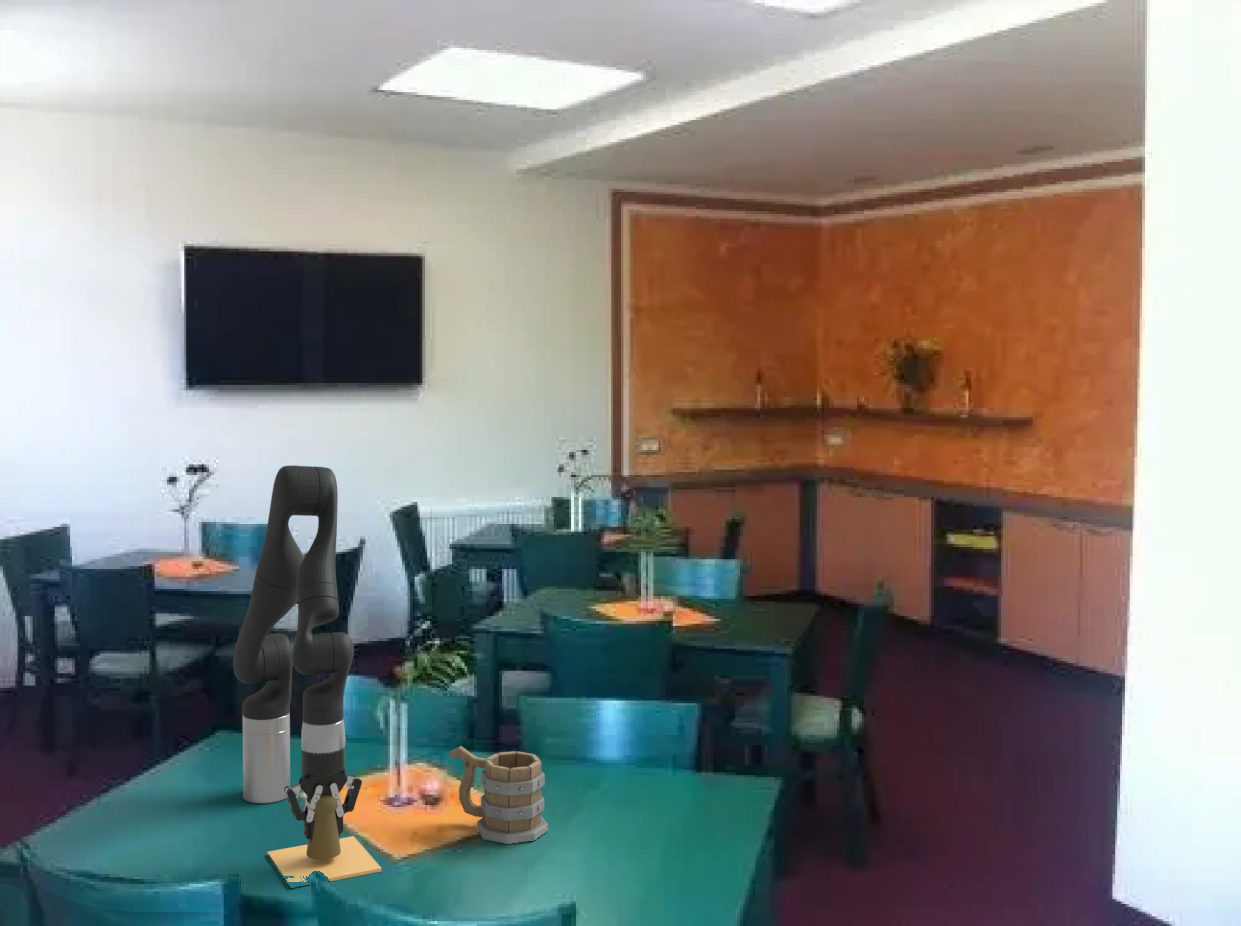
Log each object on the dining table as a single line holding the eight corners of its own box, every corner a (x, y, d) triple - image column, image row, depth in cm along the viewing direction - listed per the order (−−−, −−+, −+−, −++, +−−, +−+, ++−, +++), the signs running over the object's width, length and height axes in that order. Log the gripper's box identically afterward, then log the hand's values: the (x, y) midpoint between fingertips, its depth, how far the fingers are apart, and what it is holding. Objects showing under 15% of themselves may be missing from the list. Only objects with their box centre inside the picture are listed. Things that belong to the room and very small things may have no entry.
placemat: (267, 855, 226) (267, 851, 226) (353, 839, 234) (353, 836, 234) (290, 889, 212) (290, 886, 212) (381, 871, 220) (381, 868, 220)
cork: (332, 861, 219) (332, 800, 218) (300, 857, 221) (300, 797, 219) (346, 847, 225) (346, 788, 224) (315, 844, 226) (315, 785, 225)
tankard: (556, 825, 242) (558, 750, 241) (524, 849, 231) (525, 770, 230) (468, 807, 251) (469, 735, 249) (433, 829, 239) (434, 753, 238)
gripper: (356, 733, 228) (356, 824, 229) (277, 744, 221) (278, 837, 222) (368, 745, 221) (368, 838, 223) (288, 756, 214) (288, 853, 216)
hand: (323, 837), depth 223 cm, fingers closed on cork, 4 cm apart
